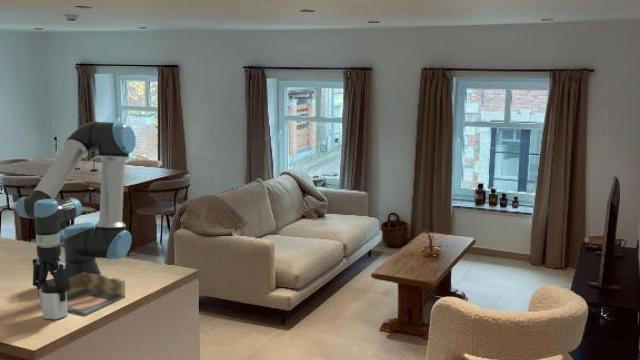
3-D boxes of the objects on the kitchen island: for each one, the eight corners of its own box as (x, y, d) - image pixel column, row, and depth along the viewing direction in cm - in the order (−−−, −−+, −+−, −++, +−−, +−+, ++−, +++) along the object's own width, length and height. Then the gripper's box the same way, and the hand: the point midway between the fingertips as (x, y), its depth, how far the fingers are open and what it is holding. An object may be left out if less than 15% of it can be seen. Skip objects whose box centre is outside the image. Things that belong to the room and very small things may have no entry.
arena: (44, 306, 230) (42, 287, 229) (84, 289, 248) (83, 272, 247) (86, 315, 222) (85, 296, 221) (125, 297, 240) (124, 279, 239)
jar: (61, 308, 227) (59, 276, 225) (73, 313, 222) (71, 281, 220) (37, 315, 220) (34, 283, 218) (49, 322, 215) (47, 288, 213)
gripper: (17, 243, 217) (22, 306, 221) (62, 251, 209) (66, 316, 213) (35, 238, 224) (39, 299, 228) (79, 245, 216) (83, 309, 220)
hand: (52, 307), depth 221 cm, fingers closed on jar, 7 cm apart
